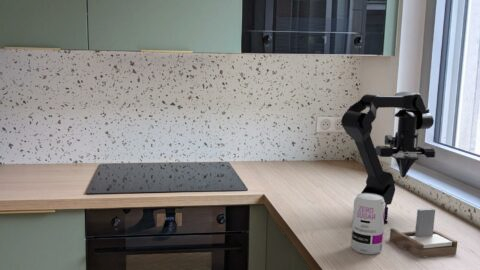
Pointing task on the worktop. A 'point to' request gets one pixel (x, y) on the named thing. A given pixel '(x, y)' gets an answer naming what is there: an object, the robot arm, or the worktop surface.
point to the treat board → (417, 247)
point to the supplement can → (368, 223)
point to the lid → (428, 230)
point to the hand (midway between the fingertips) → (402, 177)
